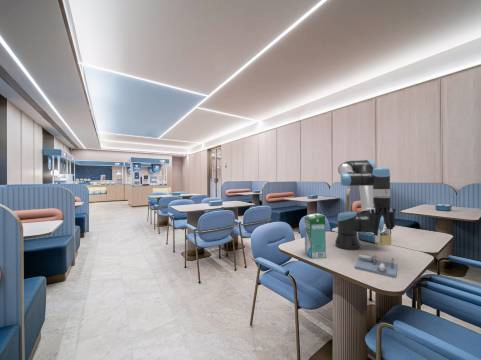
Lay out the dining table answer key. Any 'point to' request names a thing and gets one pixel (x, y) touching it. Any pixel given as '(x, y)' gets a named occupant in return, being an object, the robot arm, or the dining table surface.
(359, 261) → the shaft bench
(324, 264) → the dining table surface
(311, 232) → the milk carton
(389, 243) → the block
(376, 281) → the dining table surface
